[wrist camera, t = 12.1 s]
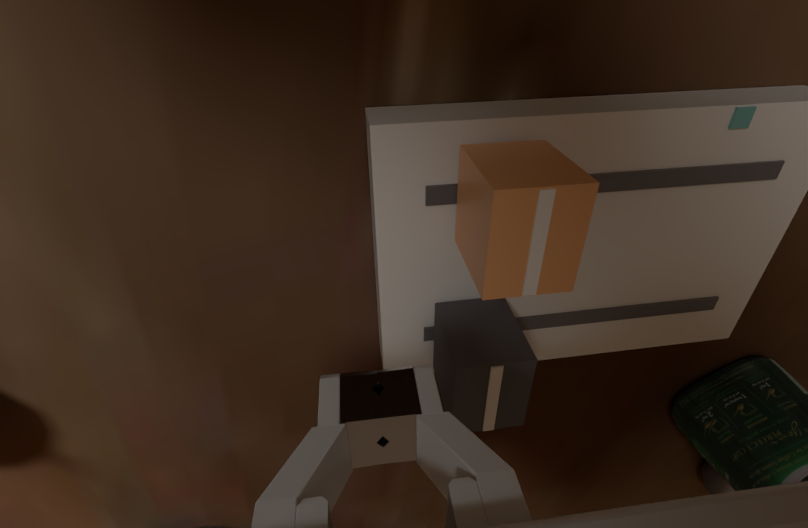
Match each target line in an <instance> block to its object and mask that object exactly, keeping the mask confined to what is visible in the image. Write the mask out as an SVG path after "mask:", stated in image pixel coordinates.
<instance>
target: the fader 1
mask: <svg viewBox="0 0 808 528" xmlns="http://www.w3.org/2000/svg"><path fill="white" fill-rule="evenodd" d="M599 184H600V182H598V181H597V180H596V179H594V178H593V177H592V176H591V175H589V174H588V173H587V172H586V171H584V170H583V169H582V168H580V167H579V166H578V165H577V164H575V163H574V162H573V161H572V160H570V159H569V158H568V157H567V156H565V155H564V154H563V153H561V152H560V151H559V150H558V149H556V148H555V147H554V146H553V145H551V144H550V143H549V142H547V141H546V140H529V141H513V142H497V143H480V144H464V145H460V154H459V172H458V189H457V207H456V225H455V242H456V244H457V247H458V249H459V251H460V253H461V255H462V257H463V260H464V262H465V264H466V266H467V268H468V270H469V273H470V275H471V277H472V279H473V281H474V283H475V286H476V288H477V290H478V292H479V294H480V296H481V299H482V300H491V299H501V298H511V297H521V296H531V295H541V294H551V293H561V292H570V291H573V288H574V284H575V280H576V276H577V272H578V268H579V264H580V260H581V256H582V252H583V248H584V244H585V240H586V236H587V232H588V228H589V224H590V220H591V216H592V212H593V208H594V204H595V200H596V196H597V192H598V188H599Z"/></svg>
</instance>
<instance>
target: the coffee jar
mask: <svg viewBox="0 0 808 528" xmlns="http://www.w3.org/2000/svg"><path fill="white" fill-rule="evenodd" d="M672 417H673V420H674V421H675V424H676V425H677V427H678V428H679V430H680V431H681V432H682V433H683V435H684V436H685V437H686V438H687V439H688V441H689V442H690V443H691V444H692V445H693V446H694V448H695V449H696V450H697V451H698V452H699V453H700V454H701V455H702V456H703V457H704V458H705V460H706V461H707V462H708V463H709V464H710V465H711V466H712V467H713V468H714V469H715V470H716V471H717V472H718V473H719V474H720V475H721V476H722V477H723V478H724V480H725V481H726V482H727V483H728V484H729V485H730V486H731V487H732V488H733V489H734V490H735V491H740V490H747V489H754V488H761V487H768V486H775V485H782V484H789V483H796V482H803V481H808V392H807V391H806V390H805V389H804V388H803V387H802V386H801V385H800V384H799V383H798V382H797V381H796V380H795V379H794V378H793V377H792V376H791V375H790V374H789V373H788V372H787V371H786V370H785V369H784V368H782V367H781V366H780V365H779V364H778V363H777V362H776V361H774V360H772V359H770V358H767V357H758V356H753V357H748V358H745V359H742V360H740V361H737V362H735V363H733V364H731V365H728V366H726V367H724V368H722V369H720V370H719V371H717V372H715V373H713V374H711V375H709V376H707V377H705V378H704V379H702V380H700V381H699V382H697V383H695V384H693V385H692V386H690V387H688V388H687V389H686V390H684V391H683V392H681V393H680V394H679V395H678V396H677V398H676V400H675V402H674V404H673V407H672Z"/></svg>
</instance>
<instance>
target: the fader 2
mask: <svg viewBox="0 0 808 528" xmlns="http://www.w3.org/2000/svg"><path fill="white" fill-rule="evenodd" d="M537 361H538V359H537V358H536V356H535V354H534V352H533V350H532V348H531V346H530V344H529V343H528V341H527V339H526V337H525V335H524V333H523V331H522V329H521V328H520V326H519V324H518V322H517V320H516V318H515V316H514V314H513V313H512V311H511V309H510V307H509V305H508V303H507V301H506V299H505V298H501V299H491V300H482V299H481V298H480V299H470V300H460V301H450V302H440V303H435V316H434V349H433V368H434V371H435V375H436V379H437V383H438V387H439V391H440V394H441V398H442V402H443V406H444V410H445V412H450V413H451V414H452V415H453V416H455V417H456V418H457V419H458V420H459V421H460V422H461V423H462V424H463V425H465V426H466V427H467V428H468V429H469V430H470V431H471V432H478V431H490V430H494V429H501V428H508V427H516V426H523V425H524V421H525V416H526V412H527V407H528V402H529V398H530V393H531V388H532V384H533V379H534V375H535V370H536V365H537Z"/></svg>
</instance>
